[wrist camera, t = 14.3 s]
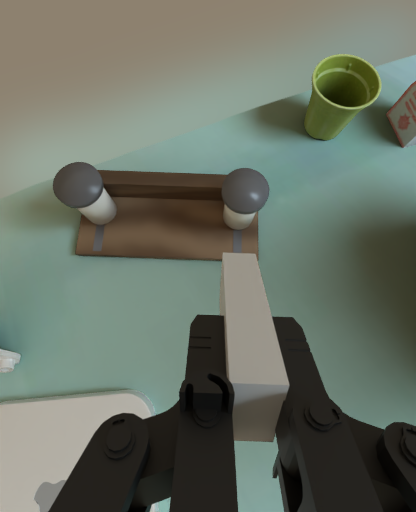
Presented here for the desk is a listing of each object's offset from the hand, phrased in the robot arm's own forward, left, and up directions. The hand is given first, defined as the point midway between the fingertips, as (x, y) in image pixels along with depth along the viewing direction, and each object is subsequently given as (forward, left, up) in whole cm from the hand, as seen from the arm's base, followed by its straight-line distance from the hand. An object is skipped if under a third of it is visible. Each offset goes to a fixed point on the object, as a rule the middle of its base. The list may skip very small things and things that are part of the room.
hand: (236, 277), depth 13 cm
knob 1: (+20, +8, -25) cm, 33 cm away
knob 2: (+10, -9, -25) cm, 28 cm away
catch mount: (+15, 0, -26) cm, 30 cm away
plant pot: (+19, -30, -26) cm, 44 cm away
